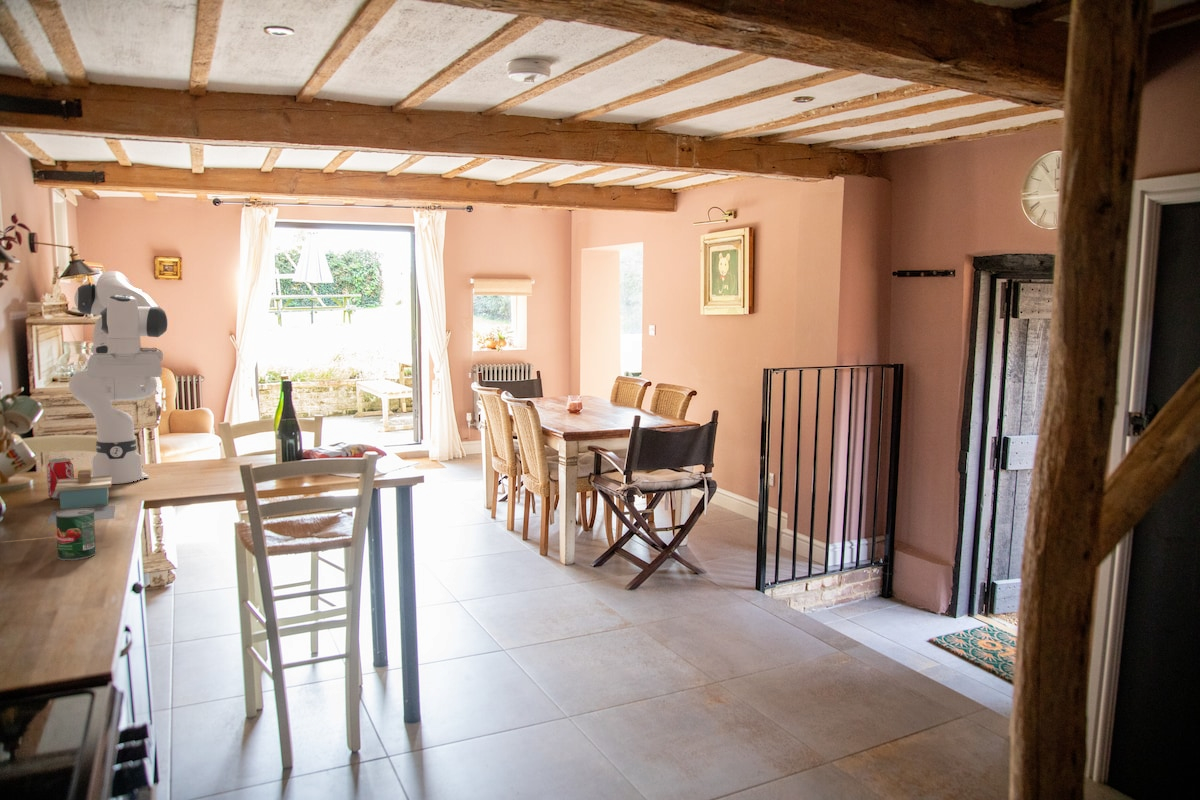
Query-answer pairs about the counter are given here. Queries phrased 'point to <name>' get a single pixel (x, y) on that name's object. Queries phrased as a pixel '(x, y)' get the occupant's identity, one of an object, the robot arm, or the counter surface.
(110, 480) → the lid
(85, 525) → the canned tomato
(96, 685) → the counter surface
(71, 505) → the teal open box
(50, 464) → the soda can
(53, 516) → the mat
